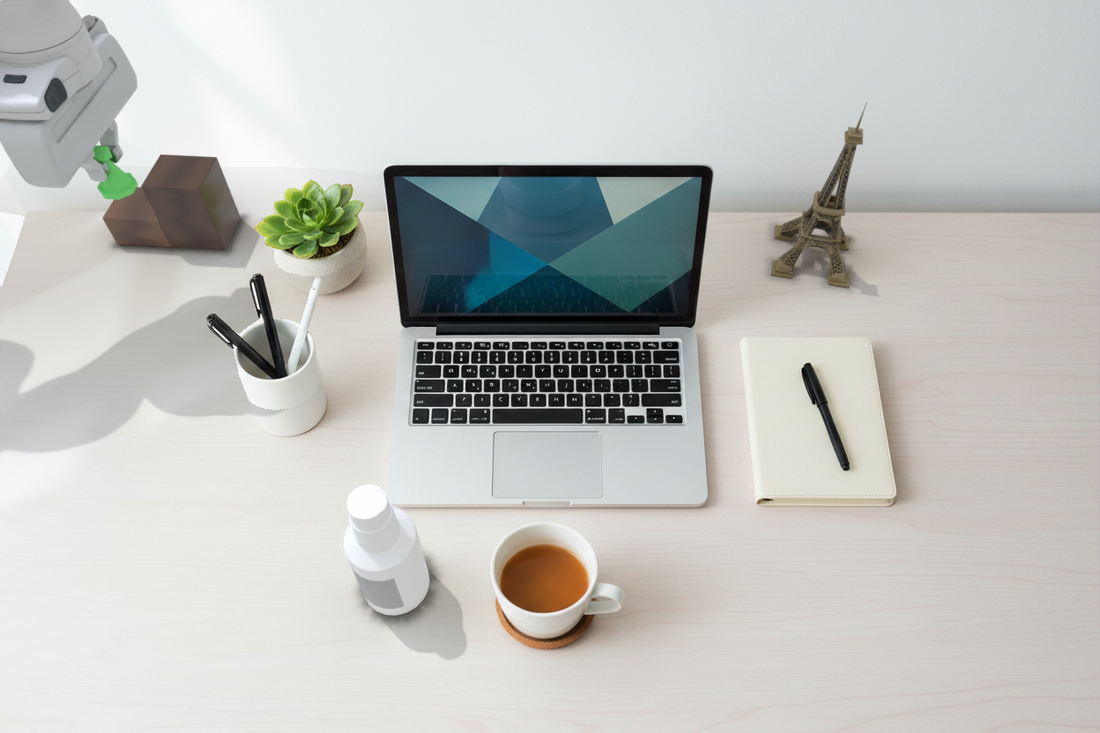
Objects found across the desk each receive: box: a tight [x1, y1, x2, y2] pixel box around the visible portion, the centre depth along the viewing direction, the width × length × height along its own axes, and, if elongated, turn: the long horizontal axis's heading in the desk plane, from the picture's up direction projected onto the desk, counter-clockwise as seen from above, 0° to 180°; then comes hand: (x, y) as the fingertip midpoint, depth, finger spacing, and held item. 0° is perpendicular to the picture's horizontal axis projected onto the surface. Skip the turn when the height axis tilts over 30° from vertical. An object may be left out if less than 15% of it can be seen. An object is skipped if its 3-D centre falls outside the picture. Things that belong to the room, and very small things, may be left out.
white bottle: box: [342, 484, 431, 616], centre depth 74 cm, size 7×7×18 cm
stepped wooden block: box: [102, 154, 242, 251], centre depth 110 cm, size 16×7×11 cm, turn 86°
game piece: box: [93, 144, 139, 200], centre depth 90 cm, size 4×4×6 cm
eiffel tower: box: [770, 101, 868, 289], centre depth 102 cm, size 11×11×25 cm
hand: (108, 168), depth 90 cm, fingers closed on game piece, 2 cm apart
